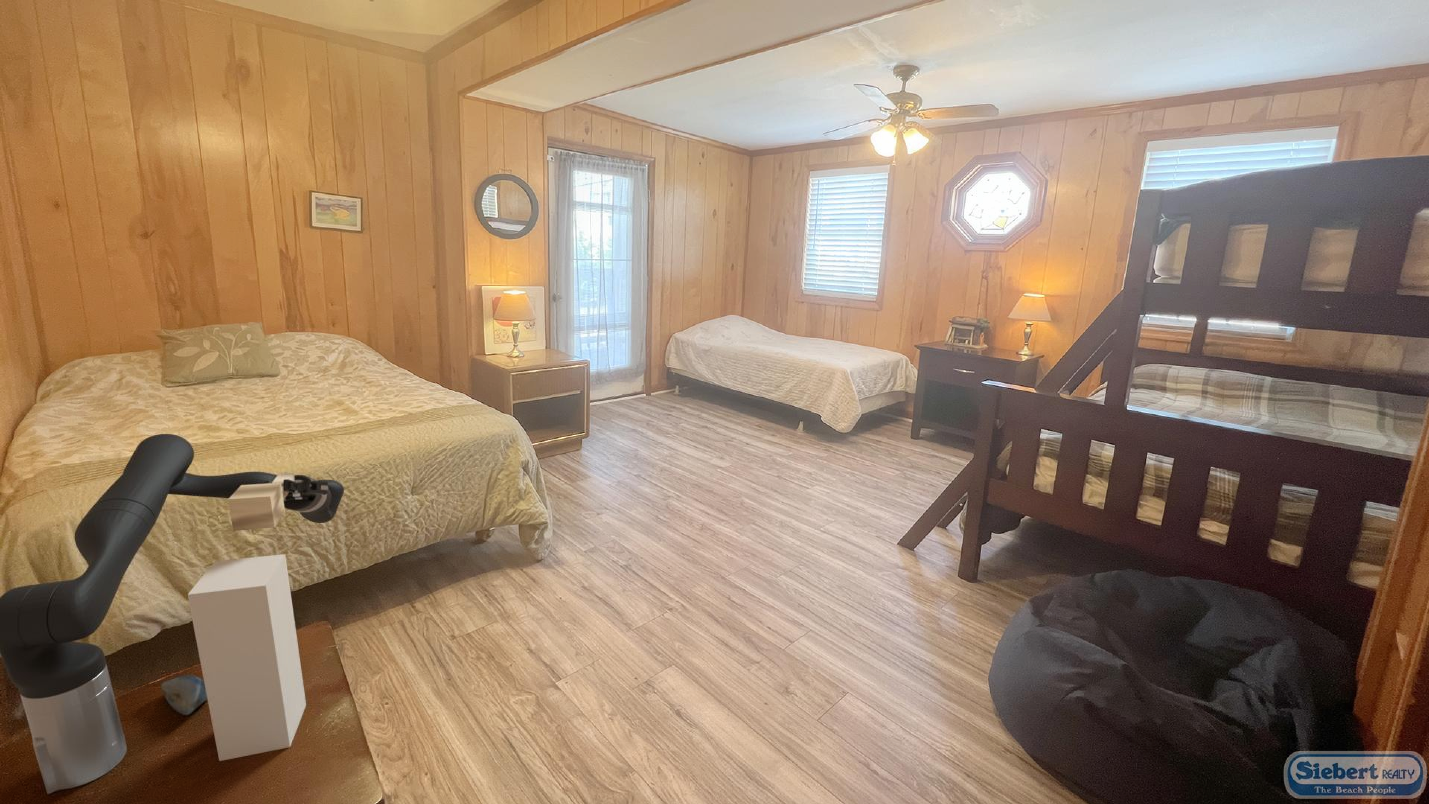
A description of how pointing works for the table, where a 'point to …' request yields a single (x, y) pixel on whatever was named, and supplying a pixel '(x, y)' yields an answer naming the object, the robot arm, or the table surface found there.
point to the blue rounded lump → (185, 693)
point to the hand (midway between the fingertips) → (276, 485)
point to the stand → (249, 654)
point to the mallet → (258, 504)
